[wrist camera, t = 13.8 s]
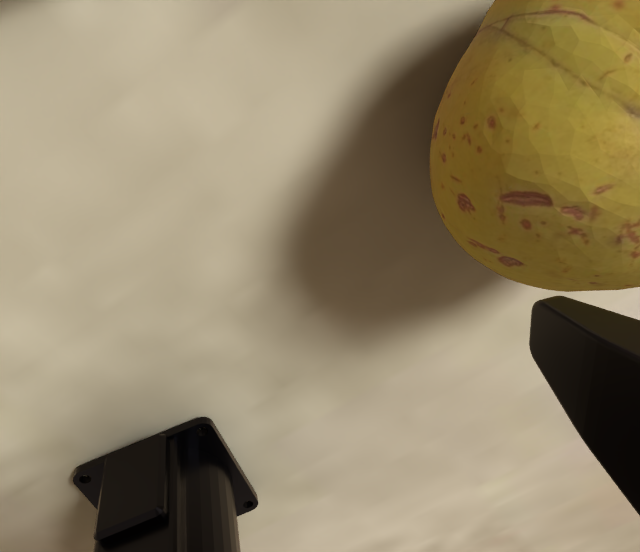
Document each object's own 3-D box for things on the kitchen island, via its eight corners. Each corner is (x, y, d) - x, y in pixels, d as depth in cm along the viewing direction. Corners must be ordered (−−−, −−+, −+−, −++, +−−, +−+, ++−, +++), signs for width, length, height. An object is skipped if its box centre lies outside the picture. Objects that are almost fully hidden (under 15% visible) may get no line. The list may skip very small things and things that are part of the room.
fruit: (393, -100, 17) (614, -175, 8) (712, -85, 19) (1140, -132, 11) (371, 231, 22) (492, 394, 14) (623, 211, 25) (861, 339, 16)
